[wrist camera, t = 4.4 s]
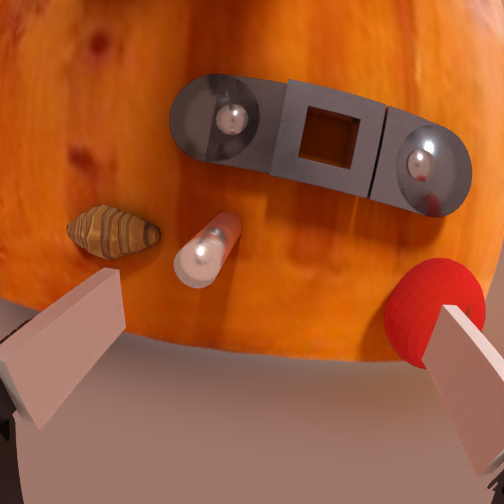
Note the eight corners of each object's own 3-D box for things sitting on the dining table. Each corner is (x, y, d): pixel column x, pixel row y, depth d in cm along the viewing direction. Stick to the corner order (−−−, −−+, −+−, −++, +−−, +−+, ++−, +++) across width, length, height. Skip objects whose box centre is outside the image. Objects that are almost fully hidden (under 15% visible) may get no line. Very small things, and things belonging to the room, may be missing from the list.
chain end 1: (170, 155, 30) (160, 155, 28) (184, 75, 27) (176, 69, 25) (357, 192, 29) (363, 196, 27) (374, 109, 26) (381, 106, 24)
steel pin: (211, 237, 33) (172, 282, 22) (215, 208, 32) (175, 241, 20) (239, 243, 33) (214, 292, 21) (244, 214, 32) (220, 251, 20)
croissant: (163, 202, 33) (143, 211, 28) (164, 259, 35) (147, 276, 30) (72, 200, 34) (48, 208, 29) (77, 249, 36) (54, 262, 31)
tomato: (420, 346, 34) (448, 398, 25) (357, 313, 34) (376, 369, 24) (473, 274, 30) (518, 313, 21) (414, 228, 30) (459, 261, 20)
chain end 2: (271, 172, 30) (269, 175, 26) (288, 88, 27) (288, 77, 22) (442, 218, 29) (462, 228, 25) (460, 143, 26) (481, 143, 22)
